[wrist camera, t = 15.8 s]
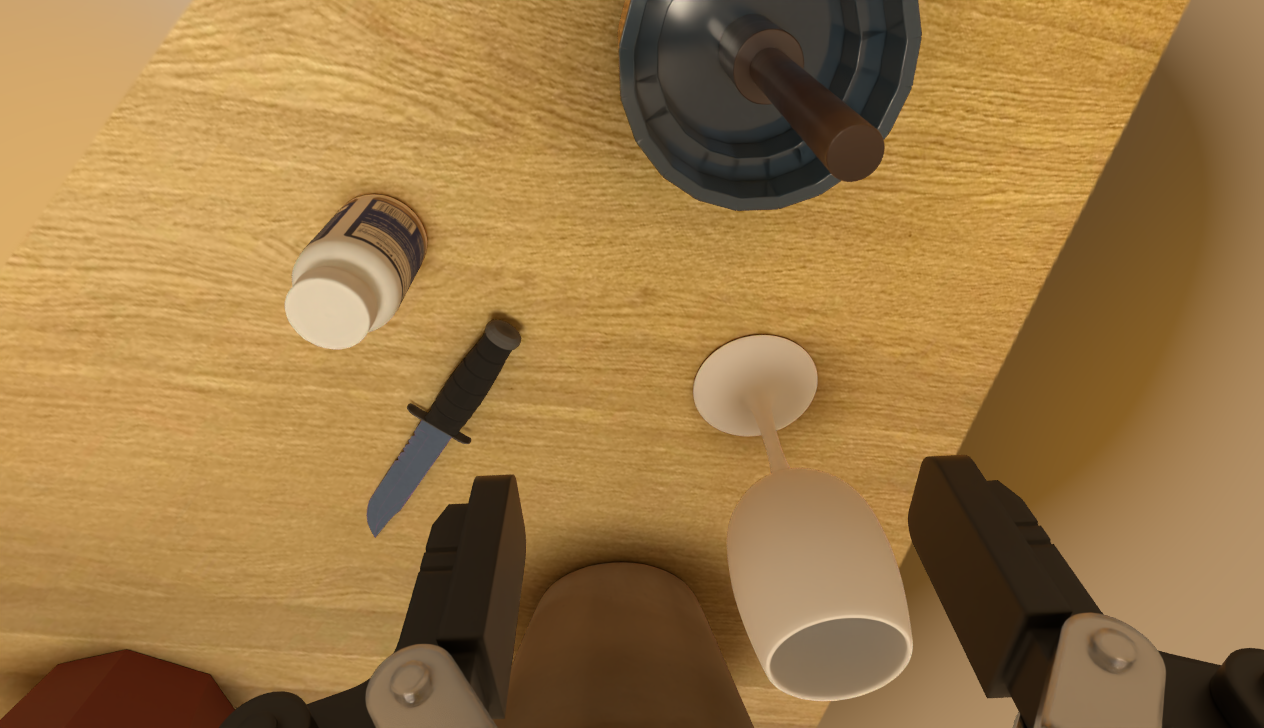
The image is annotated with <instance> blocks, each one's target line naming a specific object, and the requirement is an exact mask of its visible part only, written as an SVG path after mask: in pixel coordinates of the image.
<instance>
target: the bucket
mask: <svg viewBox="0 0 1264 728" xmlns="http://www.w3.org/2000/svg"><path fill="white" fill-rule="evenodd" d="M233 711H235V710H234V708H233V707H232V705H231V704H230V702H229V701H228V700H227V698H226V697H225V695H224V694H223V692H222V691H221V690H220V688H219V687H218V685H217V684H216V682H215V681H214V680H213V678H212V677H211V675H209V674H206V673H202V672H199V671H196V670H192V669H189V668H186V667H183V666H179V665H176V664H173V663H169V662H166V661H163V660H160V659H156V658H153V657H150V656H146V655H143V654H140V653H137V652H133V651H130V650H122V651H118V652H113V653H109V654H104V655H99V656H95V657H90V658H86V659H81V660H76V661H72V662H67V663H63V664H58V665H57V666H56V667H55V668H54V669H53V670H52V671H51V672H50V673H48V674H47V675H46V676H45V677H44V678H43V679H42V680H41V681H40V682H39V683H38V684H37V685H36V686H35V687H34V688H33V689H32V690H31V691H30V692H29V693H28V694H27V695H26V696H25V697H24V698H23V699H21V700H20V701H19V702H18V703H17V704H16V705H15V706H14V707H13V708H12V709H11V710H10V711H9V712H8V713H7V714H6V715H5V716H4V717H3V718H2V719H1V720H0V728H219V726H220V725H221V724H222V723H223V722H224V720H225V719H226V718H227V717H228V716H229V715H230V714H231V713H232V712H233Z"/></svg>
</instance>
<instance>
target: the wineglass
mask: <svg viewBox="0 0 1264 728" xmlns="http://www.w3.org/2000/svg"><path fill="white" fill-rule="evenodd" d="M817 382H818V377H817V370H816V367H815V364H814V362H813V360H812V358H811V357H810V356H809V354H808V353H807V352H806V351H805V350H804V349H803V348H802V347H800V346H799V345H797V344H796V343H794V342H792V341H790V340H787V339H785V338H781V337H777V336H771V335H754V336H748V337H743V338H740V339H737V340H734V341H732V342H730V343H727V344H726V345H724V346H722V347H721V348H719V349H718V350H716V351H715V352H714V353H713V354H711V355H710V356H709V357H708V358H707V360H706V361H705V362H704V363H703V365H702V366H701V368H700V369H699V371H698V373H697V376H696V378H695V382H694V388H693V395H694V401H695V405H696V407H697V409H698V411H699V413H700V414H701V416H702V417H703V418H704V419H705V420H706V421H707V422H708V423H709V424H710V425H712V426H713V427H715V428H717V429H718V430H721V431H723V432H726V433H729V434H733V435H738V436H759V435H762V438H763V441H764V444H765V447H766V451H767V455H768V459H769V464H770V469H771V474H769V475H767V476H765V477H763V478H762V479H760V480H759V481H757V482H756V483H755V484H754V485H752V486H751V487H750V488H749V489H748V490H747V491H746V492H745V494H744V495H743V496H742V497H741V499H740V500H739V502H738V503H737V505H736V507H735V509H734V511H733V513H732V516H731V519H730V522H729V526H728V533H727V556H728V565H729V572H730V578H731V584H732V588H733V592H734V596H735V600H736V603H737V607H738V610H739V613H740V616H741V619H742V621H743V624H744V627H745V629H746V632H747V634H748V637H749V639H750V641H751V644H752V646H753V648H754V651H755V653H756V655H757V657H758V659H759V661H760V663H761V666H762V668H763V670H764V672H765V674H766V675H767V677H768V679H769V680H770V681H771V682H772V683H773V684H774V685H775V686H776V687H777V688H778V689H780V690H781V691H783V692H785V693H787V694H789V695H791V696H794V697H797V698H801V699H806V700H813V701H835V700H843V699H849V698H854V697H858V696H861V695H864V694H867V693H870V692H872V691H874V690H877V689H879V688H881V687H882V686H884V685H886V684H887V683H889V682H891V681H892V680H893V679H895V677H897V676H898V675H899V674H900V673H901V672H902V671H903V669H904V668H905V667H906V666H907V664H908V662H909V661H910V658H911V655H912V650H913V641H912V633H911V625H910V619H909V613H908V607H907V602H906V597H905V593H904V588H903V584H902V579H901V576H900V573H899V569H898V565H897V562H896V559H895V556H894V554H893V551H892V548H891V546H890V544H889V541H888V539H887V537H886V535H885V533H884V530H883V528H882V526H881V525H880V523H879V521H878V519H877V517H876V515H875V514H874V512H873V510H872V509H871V507H870V506H869V505H868V503H867V502H866V500H865V499H864V498H863V497H862V496H861V495H860V494H859V493H858V492H857V491H856V490H855V489H854V488H853V487H851V486H850V485H849V484H848V483H846V482H844V481H843V480H841V479H839V478H837V477H835V476H833V475H831V474H828V473H826V472H823V471H819V470H814V469H809V468H790V467H789V465H788V463H787V461H786V458H785V456H784V453H783V451H782V448H781V445H780V442H779V438H778V435H777V431H778V430H780V429H782V428H784V427H786V426H788V425H789V424H791V423H792V422H794V421H795V420H796V419H797V418H799V417H800V416H801V415H802V414H803V413H804V412H805V410H806V409H807V408H808V407H809V405H810V403H811V402H812V400H813V398H814V395H815V393H816V389H817Z"/></svg>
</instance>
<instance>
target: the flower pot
mask: <svg viewBox="0 0 1264 728" xmlns="http://www.w3.org/2000/svg"><path fill="white" fill-rule="evenodd" d="M492 720H493V721H494V723H495V724H496V726H497V727H498V728H754V726H753V724H752V722H751V720H750V717H749V715H748V713H747V711H746V708H745V706H744V704H743V702H742V699H741V697H740V695H739V693H738V690H737V688H736V686H735V684H734V681H733V679H732V677H731V674H730V672H729V670H728V667H727V665H726V663H725V660H724V658H723V656H722V653H721V651H720V649H719V646H718V644H717V642H716V639H715V637H714V635H713V633H712V630H711V628H710V626H709V623H708V621H707V619H706V617H705V615H704V612H703V610H702V608H701V606H700V604H699V602H698V600H697V599H696V597H695V595H694V593H693V592H692V590H691V589H690V588H689V587H688V586H687V585H686V584H685V583H684V582H683V581H682V580H680V579H679V578H677V577H676V576H674V575H672V574H671V573H669V572H667V571H664V570H662V569H659V568H656V567H653V566H649V565H644V564H639V563H627V562H616V563H604V564H598V565H593V566H588V567H585V568H582V569H579V570H577V571H574V572H572V573H569V574H567V575H566V576H564V577H562V578H561V579H559V580H558V581H556V582H555V583H554V584H552V585H551V586H550V587H549V588H548V590H547V591H546V592H545V593H544V595H543V596H542V598H541V600H540V601H539V603H538V605H537V608H536V610H535V612H534V614H533V616H532V619H531V621H530V623H529V625H528V627H527V629H526V632H525V634H524V637H523V639H522V642H521V644H520V647H519V649H518V652H517V654H516V657H515V659H514V662H513V664H512V667H511V673H510V681H509V689H508V696H507V704H506V712H505V719H492Z"/></svg>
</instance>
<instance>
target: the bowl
mask: <svg viewBox="0 0 1264 728" xmlns="http://www.w3.org/2000/svg"><path fill="white" fill-rule="evenodd" d="M751 14H755V15H761V16H764V17H766V18H768V19H769V20H771V21H772V22H774V23H775V24H776V25H778V26H779V27H781V28H782V29H784V30H785V31H787V32H788V33H790V34H791V35H792V36H793V37H794V38H795V39H796V40H797V41H798V43H799V44H800V46H801V49H802V51H803V56H804V68H803V69H804V70H805V71H806V72H808V73H809V74H810V75H811V76H812V77H814V78H815V79H816V80H817V81H819V82H820V83H821V84H822V85H823V86H825V87H826V88H827V89H828V90H830V91H831V92H832V93H833V94H834V95H836V96H837V97H838V98H839V99H841V100H842V101H843V102H844V103H845V104H847V105H848V106H849V107H850V108H852V109H853V110H854V111H855V112H856V113H858V114H859V115H860V116H861V117H863V118H864V119H865V120H866V121H867V122H869V123H870V124H871V125H872V126H874V127H875V128H876V129H877V130H878V131H879V132H880V134H881V135H882V137H883V140H884V139H885V138H886V136H887V135H888V134H889V132H890V131H891V129H892V127H893V125H894V123H895V121H896V119H897V117H898V115H899V113H900V111H901V109H902V107H903V105H904V103H905V101H906V99H907V97H908V95H909V93H910V90H911V88H912V87H911V86H912V85H913V80H914V75H915V70H916V64H917V59H918V54H919V49H920V43H921V36H922V31H921V22H920V13H919V3H918V0H625V2H624V6H623V10H622V14H621V18H620V22H619V26H618V32H617V35H618V61H619V83H620V96H621V101H622V104H623V107H624V110H625V113H626V116H627V118H628V121H629V124H630V127H631V130H632V133H633V136H634V138H635V141H636V142H637V144H638V145H639V147H640V148H641V149H642V151H643V152H644V153H645V155H646V156H647V157H648V159H649V160H650V161H651V162H652V164H653V165H654V166H655V168H656V169H657V170H658V172H659V173H660V174H661V175H662V176H663V177H664V178H665V179H667V180H668V181H670V182H671V183H673V184H674V185H675V186H677V187H678V188H680V189H681V190H683V191H684V192H686V193H687V194H689V195H690V196H692V197H693V198H695V199H697V200H699V201H702V202H706V203H709V204H713V205H717V206H720V207H724V208H727V209H731V210H735V211H736V210H737V211H747V210H773V209H778V208H779V209H781V208H784V207H787V206H790V205H793V204H796V203H798V202H801V201H804V200H807V199H810V198H813V197H816V196H819V194H820V195H821V194H823V193H824V192H826V191H827V190H828V189H830V188H831V187H833V186H834V185H836V184H837V183H839V182H840V181H841V180H839V179H837V178H835V177H834V176H833V175H832V174H831V173H830V172H829V171H828V169H827V168H826V167H825V166H824V165H823V163H822V162H821V161H820V160H819V159H818V157H817V156H816V155H815V154H814V153H813V151H812V150H811V149H810V148H809V147H808V146H807V144H806V143H805V142H804V141H803V140H802V138H801V137H800V136H799V135H798V134H797V132H796V131H795V130H794V129H793V128H792V127H791V125H790V124H789V123H788V122H787V121H786V119H785V118H784V117H783V116H782V115H781V113H780V112H779V111H778V110H777V109H776V108H775V106H774V105H773V104H767V105H761V104H756V103H753V102H751V101H749V100H747V99H746V98H745V97H744V96H743V95H742V94H741V93H740V92H739V90H738V89H737V88H736V86H735V85H734V83H733V82H732V81H731V79H730V78H729V77H728V75H727V74H726V72H725V71H724V69H723V68H722V65H721V63H720V59H719V44H720V41H721V38H722V35H723V33H724V32H725V30H726V29H727V27H728V26H729V25H730V24H731V23H732V22H734V21H735V20H736V19H738V18H740V17H742V16H745V15H751Z"/></svg>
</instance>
